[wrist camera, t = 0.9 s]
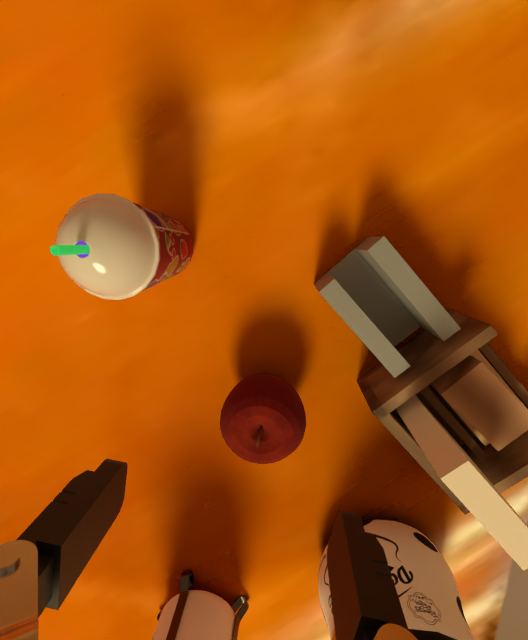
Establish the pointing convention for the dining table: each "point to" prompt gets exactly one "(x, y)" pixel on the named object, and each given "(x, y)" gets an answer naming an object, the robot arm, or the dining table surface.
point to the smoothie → (120, 246)
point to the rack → (425, 367)
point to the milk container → (411, 583)
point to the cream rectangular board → (466, 480)
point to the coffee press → (198, 615)
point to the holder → (383, 300)
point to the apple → (263, 419)
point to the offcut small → (483, 402)
